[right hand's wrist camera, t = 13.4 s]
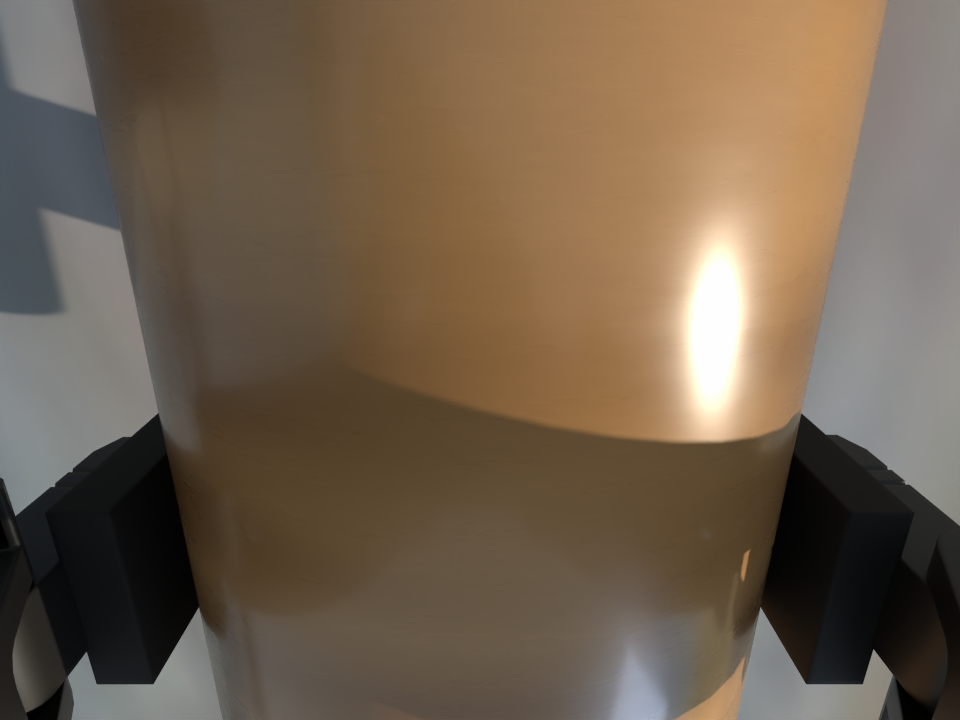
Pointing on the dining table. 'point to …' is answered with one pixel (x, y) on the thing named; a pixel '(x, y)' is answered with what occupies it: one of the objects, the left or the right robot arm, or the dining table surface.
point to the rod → (480, 332)
